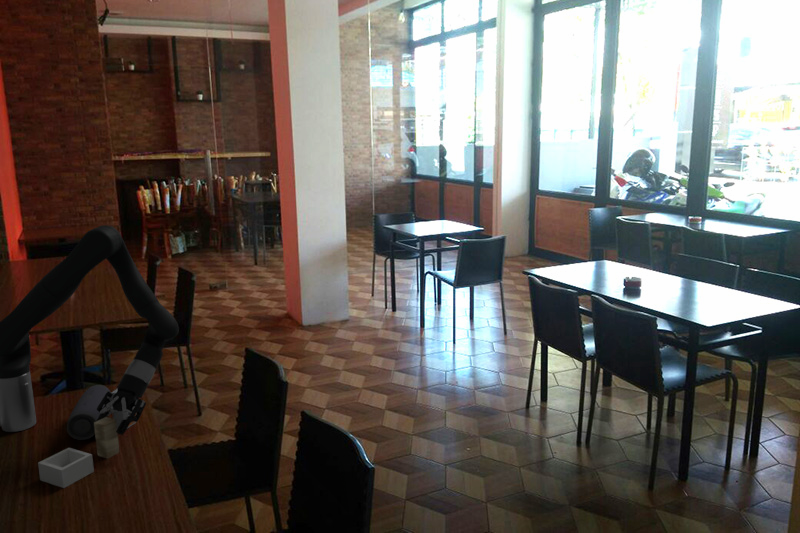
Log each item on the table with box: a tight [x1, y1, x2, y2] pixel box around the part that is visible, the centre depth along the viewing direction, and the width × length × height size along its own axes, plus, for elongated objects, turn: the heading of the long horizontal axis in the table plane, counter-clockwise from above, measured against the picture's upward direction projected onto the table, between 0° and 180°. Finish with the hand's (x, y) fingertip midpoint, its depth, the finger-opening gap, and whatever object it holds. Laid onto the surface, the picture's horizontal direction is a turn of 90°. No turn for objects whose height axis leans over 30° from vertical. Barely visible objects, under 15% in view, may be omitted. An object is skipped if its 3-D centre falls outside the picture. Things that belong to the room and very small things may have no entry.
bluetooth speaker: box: [66, 384, 111, 441], centre depth 194 cm, size 23×9×10 cm, turn 14°
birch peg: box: [94, 416, 120, 460], centre depth 178 cm, size 4×4×10 cm
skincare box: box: [110, 388, 137, 430], centre depth 195 cm, size 6×4×12 cm
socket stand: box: [37, 447, 95, 489], centre depth 167 cm, size 9×9×5 cm
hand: (108, 430), depth 178 cm, fingers open, 8 cm apart
